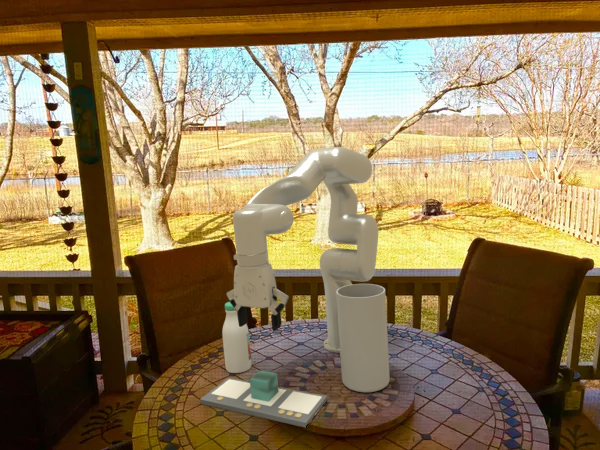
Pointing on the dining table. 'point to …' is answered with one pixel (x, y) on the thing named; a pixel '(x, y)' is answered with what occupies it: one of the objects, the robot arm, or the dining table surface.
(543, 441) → the dining table surface
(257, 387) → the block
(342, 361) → the cylinder vase
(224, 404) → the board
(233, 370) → the milk bottle
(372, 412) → the dining table surface
